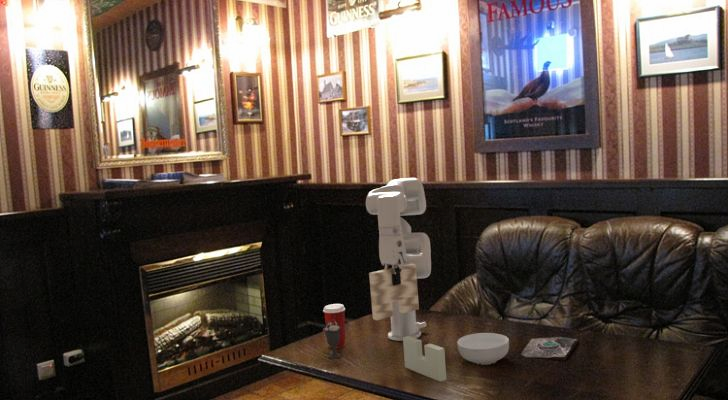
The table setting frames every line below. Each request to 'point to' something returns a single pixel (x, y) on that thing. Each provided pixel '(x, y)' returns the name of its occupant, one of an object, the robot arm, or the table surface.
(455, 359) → the table surface
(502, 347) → the cereal bowl
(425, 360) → the sage board
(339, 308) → the coffee cup
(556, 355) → the terrain model
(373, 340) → the table surface
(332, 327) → the sundae
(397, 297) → the maple plate
